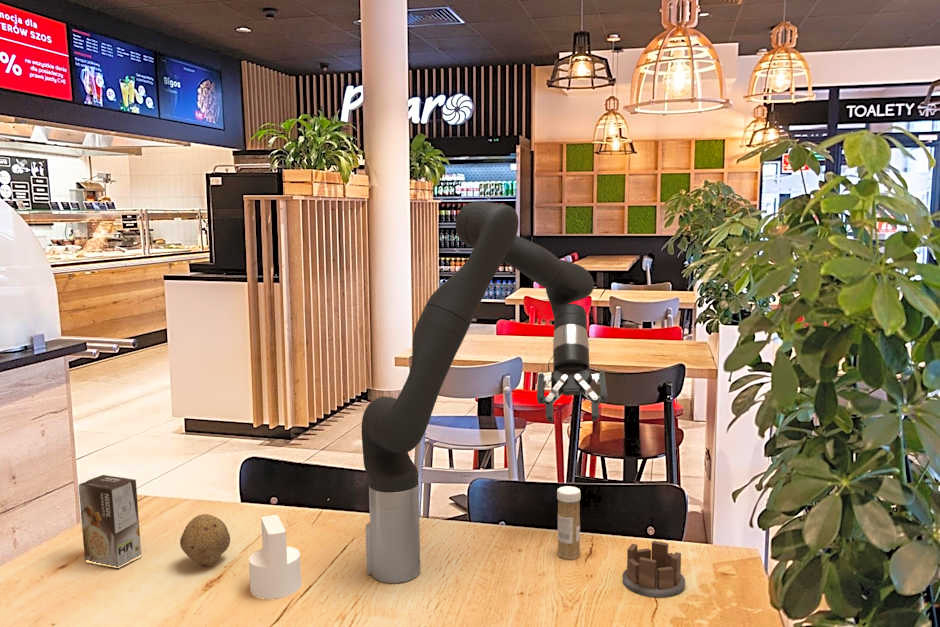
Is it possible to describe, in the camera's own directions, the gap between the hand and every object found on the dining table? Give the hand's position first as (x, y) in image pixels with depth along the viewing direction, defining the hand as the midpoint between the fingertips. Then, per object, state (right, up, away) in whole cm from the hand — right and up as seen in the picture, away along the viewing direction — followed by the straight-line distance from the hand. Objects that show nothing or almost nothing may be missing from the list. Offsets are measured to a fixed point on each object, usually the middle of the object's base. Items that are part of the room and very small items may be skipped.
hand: (572, 420), depth 157 cm
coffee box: (-91, -27, -3) cm, 95 cm away
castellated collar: (+13, -27, -16) cm, 34 cm away
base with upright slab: (-56, -28, -15) cm, 65 cm away
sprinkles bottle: (-1, -26, -3) cm, 26 cm away
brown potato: (-72, -27, -5) cm, 77 cm away
